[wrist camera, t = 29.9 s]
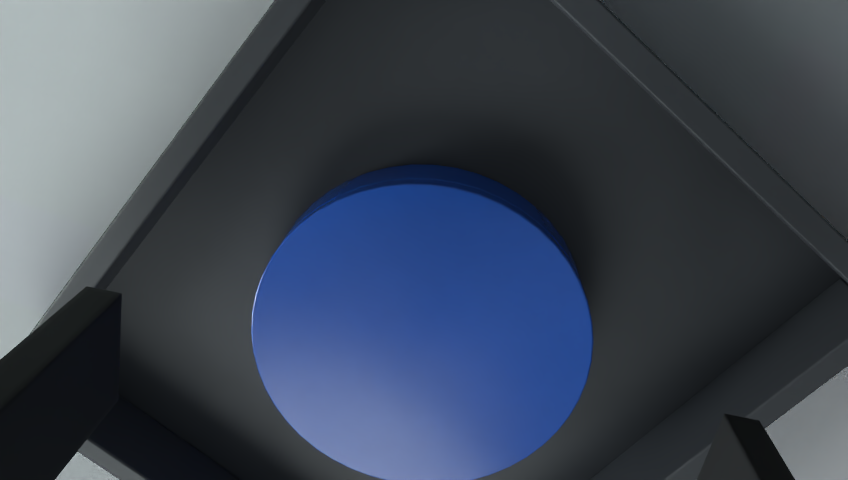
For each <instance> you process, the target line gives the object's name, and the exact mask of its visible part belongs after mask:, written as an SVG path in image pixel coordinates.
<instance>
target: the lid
mask: <svg viewBox="0 0 848 480" xmlns="http://www.w3.org/2000/svg"><path fill="white" fill-rule="evenodd" d="M251 336H252V345H253V353H254V357H255V361H256V365H257V368H258V372H259V374H260V377H261V379H262V382H263V384H264V387H265V389H266V391H267V393H268V394H269V396H270V398H271V400H272V401H273V403H274V405H275V406H276V408H277V409H278V410H279V412H280V413H281V414H282V416H283V417H284V418H285V420H286V421H287V422H288V423H289V424H290V425H291V426H292V427H293V429H294V430H295V431H296V432H297V433H298V434H299V435H300V436H301V437H302V438H304V439H305V440H306V441H307V442H309V443H310V444H311V445H312V446H313V447H315V448H316V449H317V450H319V451H320V452H322V453H323V454H325V455H327V456H328V457H330V458H331V459H333V460H335V461H337V462H339V463H341V464H343V465H345V466H347V467H349V468H351V469H353V470H356V471H358V472H361V473H364V474H366V475H369V476H372V477H376V478H380V479H384V480H474V479H478V478H481V477H485V476H488V475H491V474H494V473H496V472H499V471H501V470H503V469H506V468H508V467H510V466H512V465H514V464H516V463H517V462H519V461H521V460H523V459H524V458H526V457H528V456H529V455H530V454H532V453H533V452H535V451H536V450H537V449H539V448H540V447H541V446H543V445H544V444H545V443H546V442H547V441H548V440H549V439H550V438H551V437H552V436H553V435H554V434H555V433H556V432H557V431H558V430H559V429H560V427H561V426H562V425H563V424H564V422H565V421H566V420H567V419H568V417H569V416H570V414H571V413H572V411H573V409H574V408H575V406H576V404H577V402H578V401H579V399H580V397H581V394H582V392H583V389H584V387H585V384H586V382H587V379H588V375H589V371H590V367H591V363H592V353H593V325H592V318H591V313H590V309H589V304H588V300H587V297H586V294H585V291H584V287H583V284H582V281H581V278H580V275H579V272H578V269H577V267H576V264H575V261H574V259H573V256H572V254H571V252H570V251H569V249H568V247H567V245H566V243H565V242H564V240H563V238H562V237H561V235H560V234H559V233H558V231H557V230H556V229H555V227H554V226H553V225H552V223H551V222H550V221H549V220H548V219H547V218H546V217H545V216H544V215H543V214H542V213H541V212H540V211H539V210H538V209H537V208H536V207H535V206H534V205H533V204H531V203H530V202H529V201H527V200H526V199H525V198H523V197H522V196H521V195H519V194H518V193H517V192H515V191H513V190H511V189H510V188H508V187H506V186H504V185H503V184H501V183H499V182H497V181H494V180H492V179H490V178H487V177H485V176H482V175H480V174H477V173H474V172H470V171H466V170H463V169H459V168H454V167H447V166H440V165H415V164H411V165H403V166H394V167H388V168H384V169H380V170H376V171H372V172H368V173H365V174H363V175H360V176H358V177H355V178H353V179H350V180H348V181H346V182H344V183H342V184H341V185H339V186H337V187H335V188H334V189H332V190H330V191H329V192H327V193H326V194H325V195H323V196H322V197H321V198H319V199H318V200H317V201H315V202H314V203H313V204H312V205H311V206H310V207H309V208H308V209H307V210H306V211H305V212H304V213H303V214H302V215H301V216H300V217H299V218H298V220H297V221H296V222H295V224H294V225H293V226H292V228H291V229H290V231H289V232H288V233H287V235H286V236H285V238H284V239H283V241H282V242H281V244H280V245H279V247H278V248H277V250H276V251H275V252H274V254H273V255H272V257H271V259H270V261H269V263H268V265H267V266H266V268H265V270H264V272H263V274H262V277H261V279H260V282H259V285H258V288H257V291H256V294H255V299H254V304H253V310H252V323H251Z"/></svg>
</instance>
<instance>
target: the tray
mask: <svg viewBox="0 0 848 480" xmlns="http://www.w3.org/2000/svg"><path fill="white" fill-rule="evenodd" d="M411 164H415V165H440V166H447V167H454V168H459V169H463V170H466V171H470V172H474V173H477V174H480V175H482V176H485V177H487V178H490V179H492V180H494V181H497V182H499V183H501V184H503V185H504V186H506V187H508V188H510V189H511V190H513V191H515V192H517V193H518V194H519V195H521V196H522V197H523V198H525V199H526V200H527V201H529V202H530V203H531V204H533V205H534V206H535V207H536V208H537V209H538V210H539V211H540V212H541V213H542V214H543V215H544V216H545V217H546V218H547V219H548V220H549V221H550V222H551V223H552V225H553V226H554V227H555V229H556V230H557V231H558V233H559V234H560V235H561V237H562V238H563V240H564V242H565V243H566V245H567V247H568V249H569V251H570V252H571V254H572V256H573V259H574V261H575V264H576V267H577V269H578V272H579V275H580V278H581V281H582V284H583V287H584V291H585V294H586V297H587V300H588V304H589V309H590V313H591V318H592V325H593V353H592V363H591V367H590V371H589V375H588V379H587V382H586V384H585V387H584V389H583V392H582V394H581V397H580V399H579V401H578V402H577V404H576V406H575V408H574V409H573V411H572V413H571V414H570V416H569V417H568V419H567V420H566V421H565V422H564V424H563V425H562V426H561V427H560V429H559V430H558V431H557V432H556V433H555V434H554V435H553V436H552V437H551V438H550V439H549V440H548V441H547V442H546V443H545V444H544V445H543V446H541V447H540V448H539V449H537V450H536V451H535V452H533V453H532V454H530V455H529V456H528V457H526V458H524V459H523V460H521V461H519V462H517V463H516V464H514V465H512V466H510V467H508V468H506V469H503V470H501V471H499V472H496V473H494V474H491V475H488V476H485V477H481V478H478V479H474V480H697V478H698V476H699V473H700V471H701V469H702V466H703V464H704V461H705V459H706V456H707V454H708V452H709V449H710V447H711V444H712V442H713V440H714V437H715V435H716V432H717V430H718V428H719V425H720V423H721V420H722V418H723V416H724V414H729V415H734V416H739V417H744V418H749V419H754V420H759V421H760V422H761V424H762V426H763V427H764V429H765V428H766V427H767V426H769V425H770V424H771V423H773V422H774V421H775V420H777V419H778V418H779V417H780V416H782V415H783V414H784V413H786V412H787V411H788V410H790V409H791V408H792V407H794V406H795V405H796V404H798V403H799V402H800V401H802V400H803V399H804V398H806V397H807V396H808V395H810V394H811V393H812V392H814V391H815V390H816V389H818V388H819V387H820V386H822V385H823V384H824V383H826V382H827V381H828V380H829V379H831V378H832V377H833V376H835V375H836V374H837V373H839V372H840V371H841V370H843V369H844V368H845V367H847V366H848V241H847V240H846V239H845V238H844V237H843V236H842V235H841V234H840V233H839V232H838V231H837V230H836V229H835V228H834V227H832V226H831V225H830V224H829V223H828V222H827V221H826V220H825V219H824V218H823V217H822V216H821V215H820V214H819V213H818V212H817V211H816V210H815V209H814V208H813V207H812V206H811V205H810V204H809V203H808V202H807V201H806V200H805V199H804V198H803V197H802V196H800V195H799V194H798V193H797V192H796V191H795V190H794V189H793V188H792V187H791V186H790V185H789V184H788V183H787V182H786V181H785V180H784V179H783V178H782V177H781V176H780V175H779V174H778V173H777V172H776V171H775V170H774V169H773V168H772V167H771V166H770V165H768V164H767V163H766V162H765V161H764V160H763V159H762V158H761V157H760V156H759V155H758V154H757V153H756V152H755V151H754V150H753V149H752V148H751V147H750V146H749V145H748V144H747V143H746V142H745V141H744V140H743V139H742V138H741V137H740V136H739V135H738V134H736V133H735V132H734V131H733V130H732V129H731V128H730V127H729V126H728V125H727V124H726V123H725V122H724V121H723V120H722V119H721V118H720V117H719V116H718V115H717V114H716V113H715V112H714V111H713V110H712V109H711V108H710V107H709V106H708V105H707V104H706V103H704V102H703V101H702V100H701V99H700V98H699V97H698V96H697V95H696V94H695V93H694V92H693V91H692V90H691V89H690V88H689V87H688V86H687V85H686V84H685V83H684V82H683V81H682V80H681V79H680V78H679V77H678V76H677V75H676V74H675V73H674V72H673V71H671V70H670V69H669V68H668V67H667V66H666V65H665V64H664V63H663V62H662V61H661V60H660V59H659V58H658V57H657V56H656V55H655V54H654V53H653V52H652V51H651V50H650V49H649V48H648V47H647V46H646V45H645V44H644V43H643V42H642V41H641V40H639V39H638V38H637V37H636V36H635V35H634V34H633V33H632V32H631V31H630V30H629V29H628V28H627V27H626V26H625V25H624V24H623V23H622V22H621V21H620V20H619V19H618V18H617V17H616V16H615V15H614V14H613V13H612V12H611V11H610V10H609V9H607V8H606V7H605V6H604V5H603V4H602V3H601V2H600V1H599V0H275V1H274V2H273V3H272V5H271V6H270V8H269V9H268V10H267V12H266V13H265V14H264V16H263V17H262V18H261V20H260V21H259V23H258V24H257V25H256V27H255V28H254V29H253V31H252V32H251V33H250V35H249V36H248V38H247V39H246V40H245V42H244V43H243V44H242V46H241V47H240V48H239V50H238V51H237V53H236V54H235V55H234V57H233V58H232V59H231V61H230V62H229V63H228V65H227V66H226V67H225V69H224V70H223V72H222V73H221V74H220V76H219V77H218V78H217V80H216V81H215V82H214V84H213V85H212V87H211V88H210V89H209V91H208V92H207V93H206V95H205V96H204V97H203V99H202V100H201V102H200V103H199V104H198V106H197V107H196V108H195V110H194V111H193V112H192V114H191V115H190V117H189V118H188V119H187V121H186V122H185V123H184V125H183V126H182V127H181V129H180V130H179V132H178V133H177V134H176V136H175V137H174V138H173V140H172V141H171V142H170V144H169V145H168V147H167V148H166V149H165V151H164V152H163V153H162V155H161V156H160V157H159V159H158V160H157V162H156V163H155V164H154V166H153V167H152V168H151V170H150V171H149V172H148V174H147V175H146V176H145V178H144V179H143V181H142V182H141V183H140V185H139V186H138V187H137V189H136V190H135V191H134V193H133V194H132V196H131V197H130V198H129V200H128V201H127V202H126V204H125V205H124V206H123V208H122V209H121V211H120V212H119V213H118V215H117V216H116V217H115V219H114V220H113V221H112V223H111V224H110V226H109V227H108V228H107V230H106V231H105V232H104V234H103V235H102V236H101V238H100V239H99V241H98V242H97V243H96V245H95V246H94V247H93V249H92V250H91V251H90V253H89V254H88V256H87V257H86V258H85V260H84V261H83V262H82V264H81V265H80V266H79V268H78V269H77V270H76V272H75V273H74V275H73V276H72V277H71V279H70V280H69V281H68V283H67V284H66V285H65V287H64V288H63V290H62V291H61V292H60V294H59V295H58V296H57V298H56V299H55V300H54V302H53V303H52V305H51V306H50V307H49V309H48V310H47V311H46V313H45V314H44V315H43V317H42V318H41V320H40V321H39V322H38V324H37V325H36V326H35V328H34V329H33V330H32V332H33V331H35V330H36V329H37V328H38V327H39V326H40V325H42V324H43V323H44V322H45V321H46V320H48V319H49V318H50V317H51V316H52V315H53V314H55V313H56V312H57V311H58V310H59V309H60V308H62V307H63V306H64V305H65V304H66V303H67V302H69V301H70V300H71V299H72V298H73V297H74V296H76V295H77V294H78V293H79V292H80V291H81V290H83V289H84V288H85V287H86V286H88V287H93V288H98V289H103V290H108V291H113V292H118V293H122V305H121V336H120V368H119V400H118V401H117V403H116V404H115V405H114V406H113V408H112V409H111V410H110V411H109V413H108V414H107V415H106V416H105V418H104V419H103V420H102V421H101V423H100V424H99V425H98V426H97V428H96V429H95V430H94V431H93V432H92V434H91V435H90V436H89V437H88V439H87V440H86V441H85V442H84V444H83V445H82V446H81V447H80V449H79V450H78V452H79V453H81V454H82V455H84V456H85V457H87V458H88V459H90V460H91V461H93V462H94V463H96V464H97V465H99V466H100V467H102V468H103V469H105V470H106V471H108V472H109V473H111V474H112V475H114V476H115V477H117V478H118V479H120V480H384V479H380V478H376V477H372V476H369V475H366V474H364V473H361V472H358V471H356V470H353V469H351V468H349V467H347V466H345V465H343V464H341V463H339V462H337V461H335V460H333V459H331V458H330V457H328V456H327V455H325V454H323V453H322V452H320V451H319V450H317V449H316V448H315V447H313V446H312V445H311V444H310V443H309V442H307V441H306V440H305V439H304V438H302V437H301V436H300V435H299V434H298V433H297V432H296V431H295V430H294V429H293V427H292V426H291V425H290V424H289V423H288V422H287V421H286V420H285V418H284V417H283V416H282V414H281V413H280V412H279V410H278V409H277V408H276V406H275V405H274V403H273V401H272V400H271V398H270V396H269V394H268V393H267V391H266V389H265V387H264V384H263V382H262V379H261V377H260V374H259V372H258V368H257V365H256V361H255V357H254V353H253V345H252V336H251V323H252V310H253V304H254V299H255V294H256V291H257V288H258V285H259V282H260V279H261V277H262V274H263V272H264V270H265V268H266V266H267V265H268V263H269V261H270V259H271V257H272V255H273V254H274V252H275V251H276V250H277V248H278V247H279V245H280V244H281V242H282V241H283V239H284V238H285V236H286V235H287V233H288V232H289V231H290V229H291V228H292V226H293V225H294V224H295V222H296V221H297V220H298V218H299V217H300V216H301V215H302V214H303V213H304V212H305V211H306V210H307V209H308V208H309V207H310V206H311V205H312V204H313V203H314V202H315V201H317V200H318V199H319V198H321V197H322V196H323V195H325V194H326V193H327V192H329V191H330V190H332V189H334V188H335V187H337V186H339V185H341V184H342V183H344V182H346V181H348V180H350V179H353V178H355V177H358V176H360V175H363V174H365V173H368V172H372V171H376V170H380V169H384V168H388V167H394V166H403V165H411ZM32 332H31V333H32ZM31 333H30V334H31Z"/></svg>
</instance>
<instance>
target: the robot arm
mask: <svg viewBox="0 0 848 480" xmlns="http://www.w3.org/2000/svg"><path fill="white" fill-rule="evenodd" d="M121 305H122V293H118V292H113V291H108V290H103V289H98V288H93V287H88V286H86V287H85V288H84V289H83V290H81V291H80V292H79V293H78V294H77V295H76V296H74V297H73V298H72V299H71V300H70V301H69V302H67V303H66V304H65V305H64V306H63V307H62V308H60V309H59V310H58V311H57V312H56V313H55V314H53V315H52V316H51V317H50V318H49V319H48V320H46V321H45V322H44V323H43V324H42V325H40V326H39V327H38V328H37V329H36V330H35V331H33V332H32V333H31V334H30V335H29V336H28V337H26V338H25V339H24V340H23V341H22V342H21V343H19V344H18V345H17V346H16V347H15V348H14V349H12V350H11V351H10V352H9V353H8V354H7V355H5V356H4V357H3V358H2V359H1V360H0V480H55V479H56V477H57V476H58V475H59V474H60V472H61V471H62V470H63V469H64V467H65V466H66V465H67V464H68V462H69V461H70V460H71V459H72V457H73V456H74V455H75V454H76V452H77V451H78V450H79V449H80V447H81V446H82V445H83V444H84V442H85V441H86V440H87V439H88V437H89V436H90V435H91V434H92V432H93V431H94V430H95V429H96V428H97V426H98V425H99V424H100V423H101V421H102V420H103V419H104V418H105V416H106V415H107V414H108V413H109V411H110V410H111V409H112V408H113V406H114V405H115V404H116V403H117V401H118V400H119V368H120V336H121ZM697 480H795V479H794V477H793V476H792V474H791V472H790V471H789V469H788V467H787V466H786V464H785V462H784V461H783V459H782V457H781V456H780V454H779V452H778V451H777V449H776V447H775V446H774V444H773V442H772V441H771V439H770V437H769V436H768V434H767V432H766V431H765V429H764V427H763V426H762V424H761V422H760V421H759V420H754V419H749V418H744V417H739V416H734V415H729V414H724V416H723V418H722V420H721V423H720V425H719V428H718V430H717V432H716V435H715V437H714V440H713V442H712V444H711V447H710V449H709V452H708V454H707V456H706V459H705V461H704V464H703V466H702V469H701V471H700V473H699V476H698V478H697Z"/></svg>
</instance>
